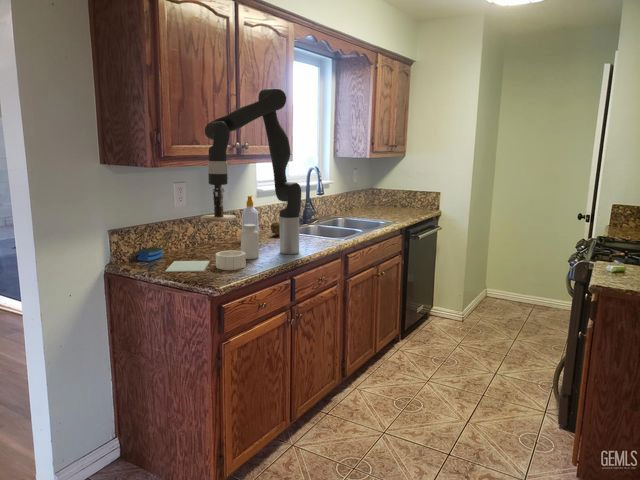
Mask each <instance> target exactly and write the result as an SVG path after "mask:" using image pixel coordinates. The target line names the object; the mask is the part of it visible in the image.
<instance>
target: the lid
mask: <svg viewBox="0 0 640 480" xmlns="http://www.w3.org/2000/svg"><path fill="white" fill-rule="evenodd" d="M200 219H201V221H203V222H204V221H205V222H230V221H236V220H237V216H236V215H233V214H224V203H223V204H221V216H216V215H215V206H213V214H205V215H202V216H201V217H200Z"/></svg>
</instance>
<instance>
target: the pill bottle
mask: <svg viewBox="0 0 640 480" xmlns="http://www.w3.org/2000/svg"><path fill="white" fill-rule="evenodd" d="M255 228H256V225H254V224H245V225H244V231H242V230H241V232H240V251H243V252H245V253H246V260H256V259H258V258H259V256H260V249H259V248H260V246H259V245H260V243H259V242H260V239H259V238H260V237H259V236H260V235H259V231H258V232H257V231H256V230H255Z"/></svg>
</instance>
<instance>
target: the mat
mask: <svg viewBox="0 0 640 480" xmlns="http://www.w3.org/2000/svg"><path fill="white" fill-rule="evenodd" d="M209 264H210V260H174V261H172V263H171V264H170V265H169V266H168V267H167V268H166V270H164V273H203V272H205V271H206V269H207V267H208V265H209Z"/></svg>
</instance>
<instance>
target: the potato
mask: <svg viewBox="0 0 640 480" xmlns="http://www.w3.org/2000/svg"><path fill="white" fill-rule="evenodd" d="M270 231H271V233H272V234H275V235H277V236H279V237H280V222H272V223H271V225H270Z"/></svg>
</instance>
